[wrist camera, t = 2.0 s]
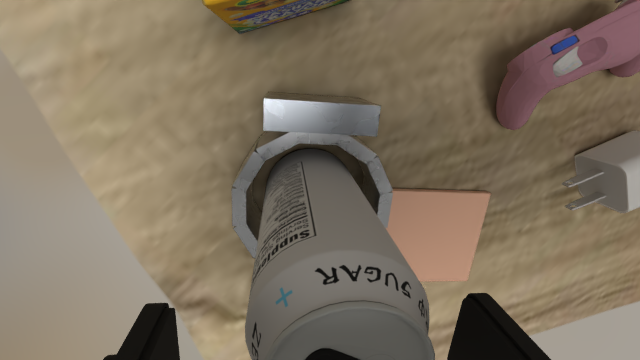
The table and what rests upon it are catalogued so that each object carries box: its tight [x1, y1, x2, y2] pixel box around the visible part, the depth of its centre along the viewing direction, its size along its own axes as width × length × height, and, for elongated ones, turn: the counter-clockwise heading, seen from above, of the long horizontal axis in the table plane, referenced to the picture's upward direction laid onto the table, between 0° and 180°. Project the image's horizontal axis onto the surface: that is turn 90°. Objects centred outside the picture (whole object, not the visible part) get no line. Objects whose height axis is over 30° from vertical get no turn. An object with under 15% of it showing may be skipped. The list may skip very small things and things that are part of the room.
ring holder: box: [232, 92, 393, 258], centre depth 20 cm, size 13×10×5 cm
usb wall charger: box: [562, 131, 640, 213], centre depth 23 cm, size 4×7×4 cm, turn 113°
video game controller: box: [496, 0, 640, 130], centre depth 19 cm, size 10×5×7 cm, turn 115°
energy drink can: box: [245, 149, 435, 360], centre depth 15 cm, size 6×6×15 cm
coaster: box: [386, 188, 491, 281], centre depth 25 cm, size 8×8×1 cm
